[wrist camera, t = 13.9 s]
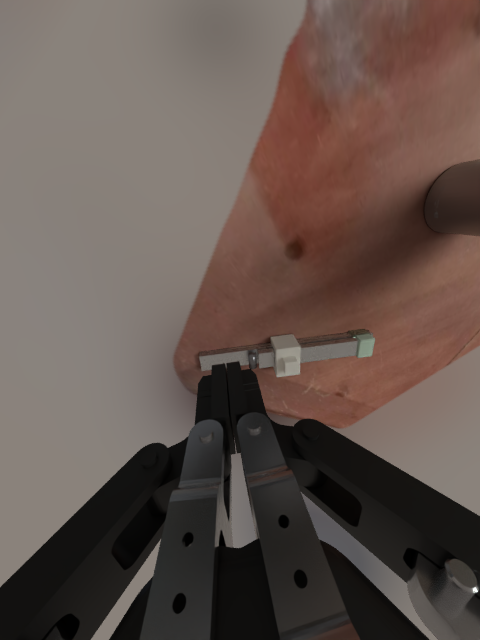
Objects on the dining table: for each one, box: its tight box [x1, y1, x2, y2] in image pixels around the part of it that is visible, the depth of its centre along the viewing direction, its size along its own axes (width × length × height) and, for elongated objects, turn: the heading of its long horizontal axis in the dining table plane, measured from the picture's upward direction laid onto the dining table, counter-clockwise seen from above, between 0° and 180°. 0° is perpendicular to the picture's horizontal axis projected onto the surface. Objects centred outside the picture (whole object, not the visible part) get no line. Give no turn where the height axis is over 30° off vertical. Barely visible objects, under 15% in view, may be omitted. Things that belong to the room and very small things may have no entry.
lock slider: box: [270, 334, 301, 377], centre depth 39 cm, size 4×6×6 cm
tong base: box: [199, 329, 373, 371], centre depth 41 cm, size 31×4×3 cm, turn 95°
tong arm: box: [257, 334, 375, 368], centre depth 40 cm, size 20×4×2 cm, turn 95°
